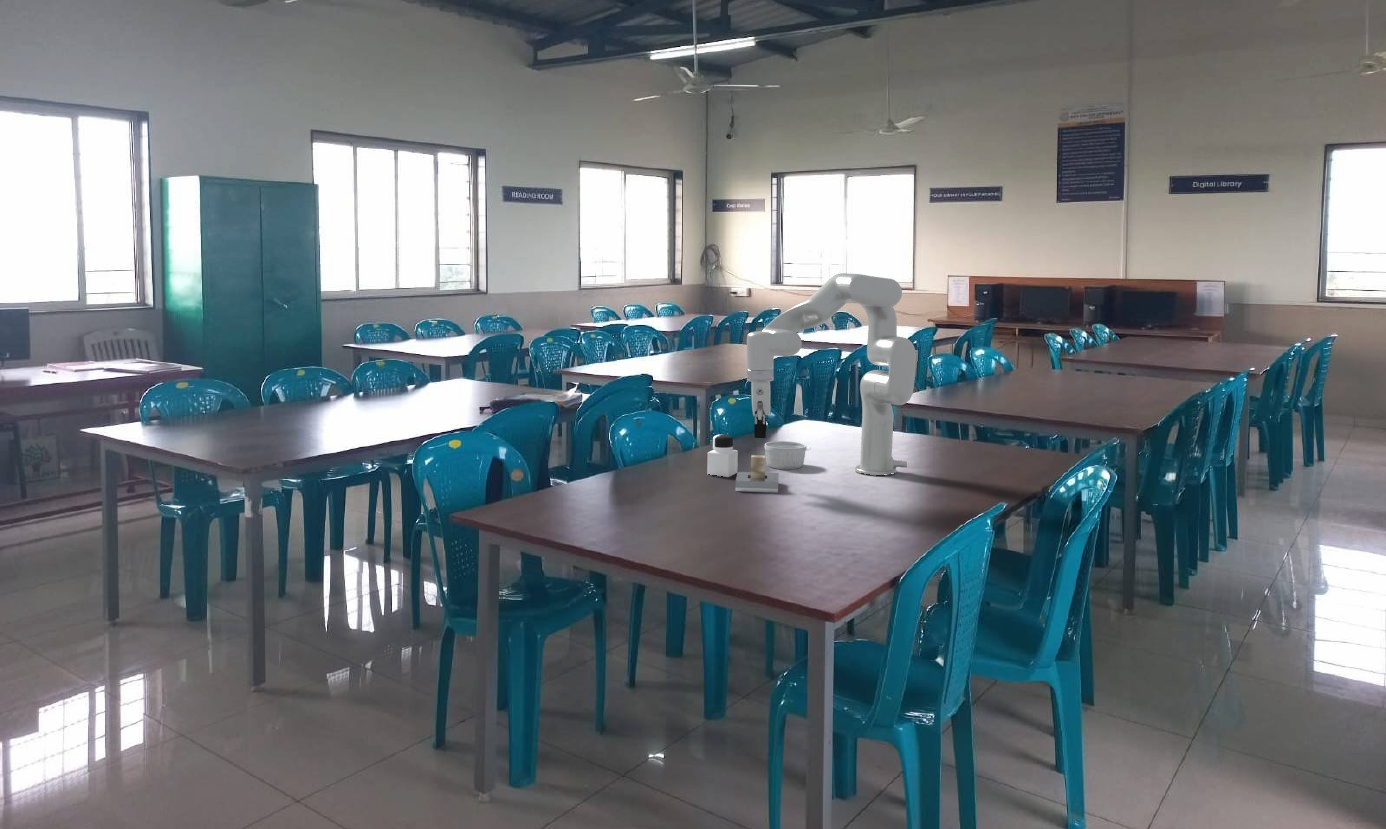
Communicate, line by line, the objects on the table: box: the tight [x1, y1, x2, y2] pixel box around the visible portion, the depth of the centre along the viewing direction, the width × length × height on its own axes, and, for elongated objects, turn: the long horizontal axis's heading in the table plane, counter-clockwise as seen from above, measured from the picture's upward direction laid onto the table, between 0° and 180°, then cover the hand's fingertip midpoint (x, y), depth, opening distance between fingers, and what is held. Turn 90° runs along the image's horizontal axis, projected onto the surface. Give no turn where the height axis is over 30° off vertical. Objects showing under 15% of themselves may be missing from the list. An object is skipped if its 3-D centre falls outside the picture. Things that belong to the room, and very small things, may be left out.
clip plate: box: [735, 471, 779, 493], centre depth 297 cm, size 12×12×3 cm
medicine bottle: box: [706, 433, 739, 478], centre depth 313 cm, size 7×7×12 cm
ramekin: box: [764, 440, 807, 470], centre depth 326 cm, size 13×13×7 cm
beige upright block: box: [750, 454, 766, 479], centre depth 296 cm, size 4×3×8 cm
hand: (760, 434), depth 295 cm, fingers open, 9 cm apart
